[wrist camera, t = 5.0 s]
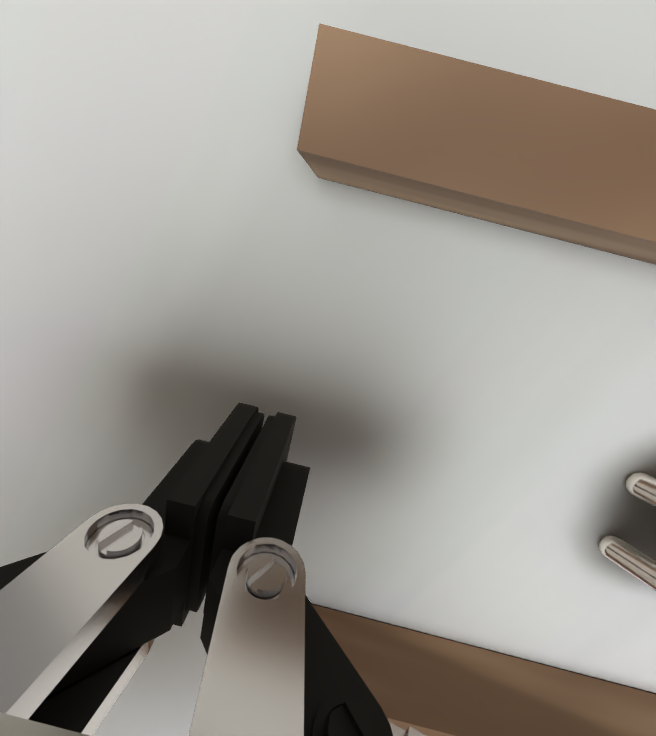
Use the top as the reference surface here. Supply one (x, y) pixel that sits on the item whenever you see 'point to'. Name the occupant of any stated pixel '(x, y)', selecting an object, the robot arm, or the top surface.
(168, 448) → the top surface
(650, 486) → the power plug
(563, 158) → the brown wooden u-shaped frame
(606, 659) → the top surface
